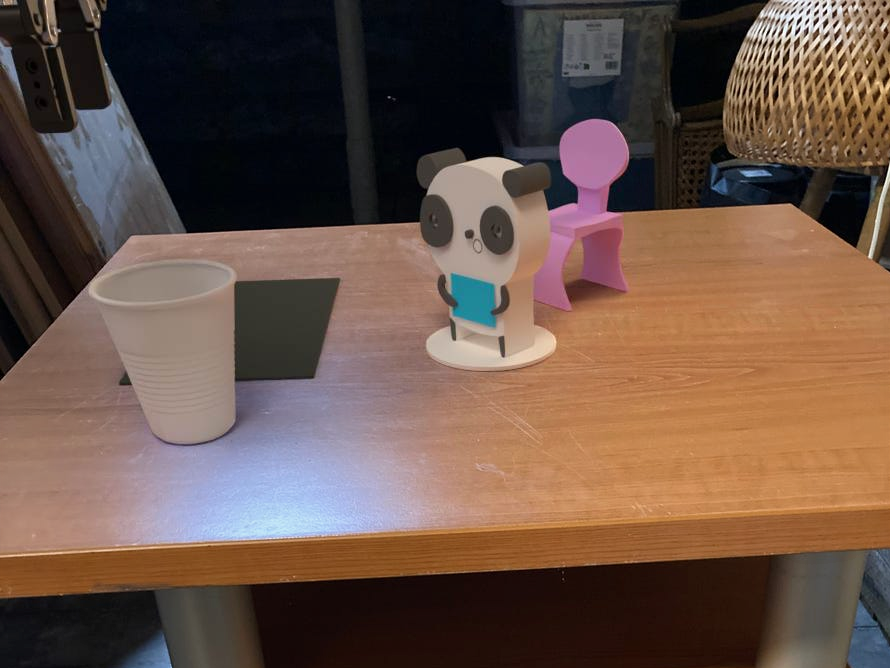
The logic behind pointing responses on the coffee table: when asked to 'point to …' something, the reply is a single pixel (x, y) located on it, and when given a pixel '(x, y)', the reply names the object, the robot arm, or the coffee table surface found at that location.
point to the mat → (279, 327)
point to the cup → (175, 342)
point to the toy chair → (586, 212)
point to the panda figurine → (486, 258)
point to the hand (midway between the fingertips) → (75, 118)
